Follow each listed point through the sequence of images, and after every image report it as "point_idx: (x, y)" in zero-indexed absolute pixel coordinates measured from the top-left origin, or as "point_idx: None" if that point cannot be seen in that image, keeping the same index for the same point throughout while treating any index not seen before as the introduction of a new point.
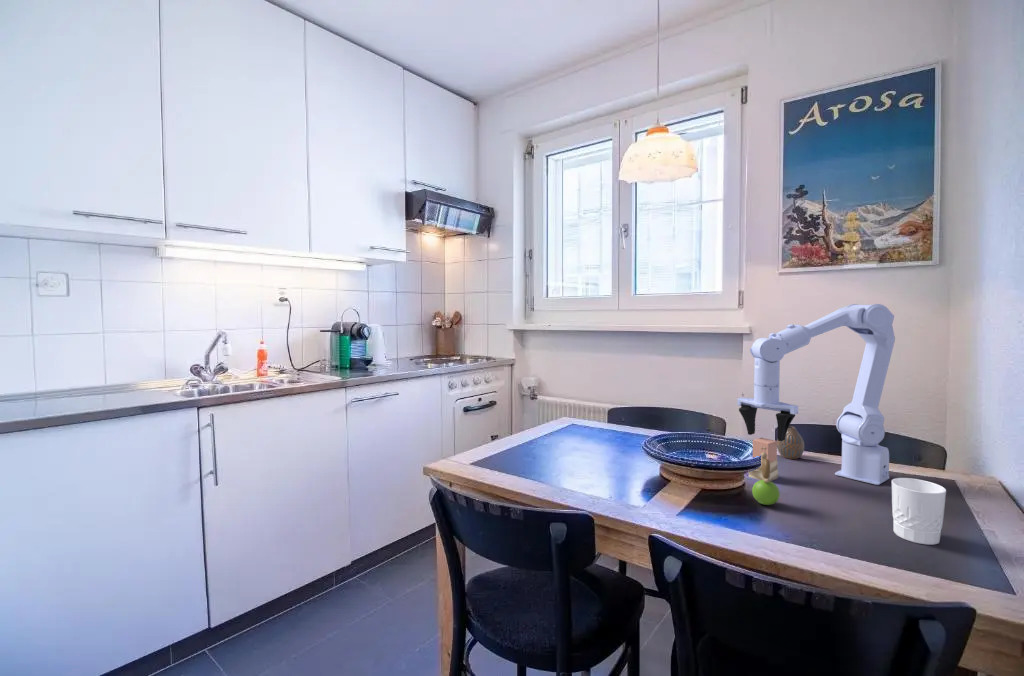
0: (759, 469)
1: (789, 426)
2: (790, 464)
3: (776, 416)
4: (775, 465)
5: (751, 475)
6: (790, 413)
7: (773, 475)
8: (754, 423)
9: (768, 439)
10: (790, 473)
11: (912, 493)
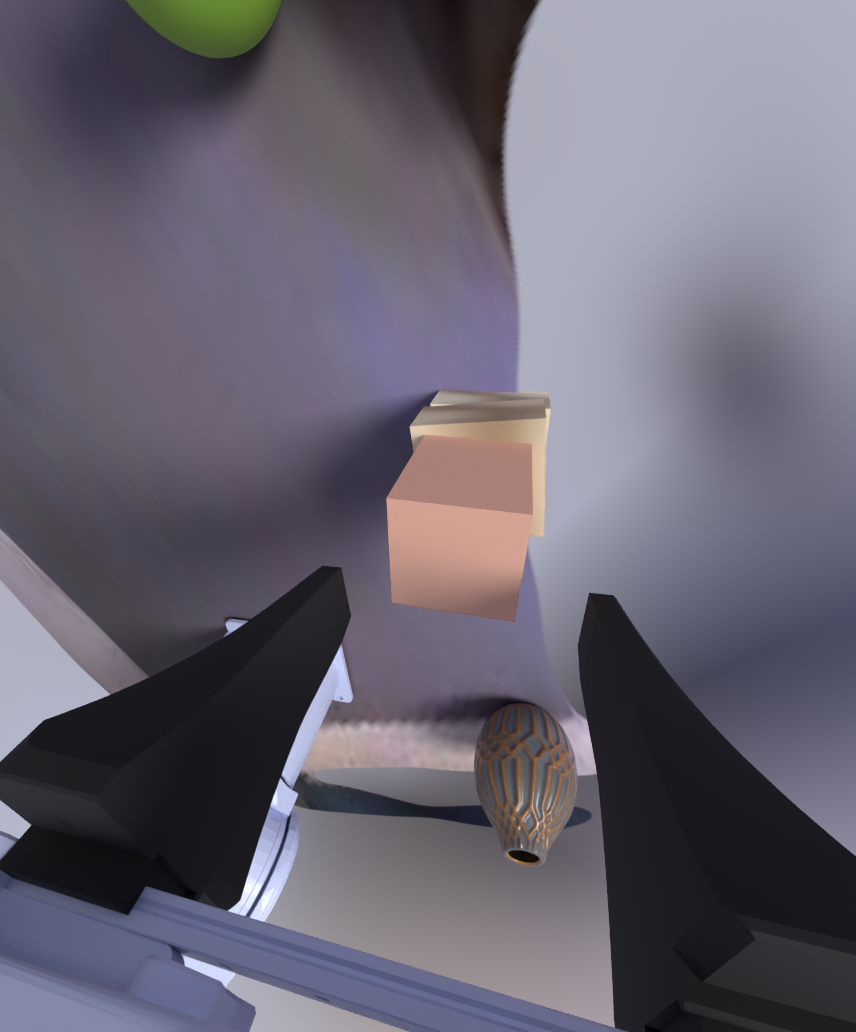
0: (477, 406)
1: (534, 865)
2: (486, 654)
3: (134, 755)
4: None
5: (531, 396)
6: (4, 841)
7: None
8: (594, 739)
9: (453, 606)
10: None
11: None
